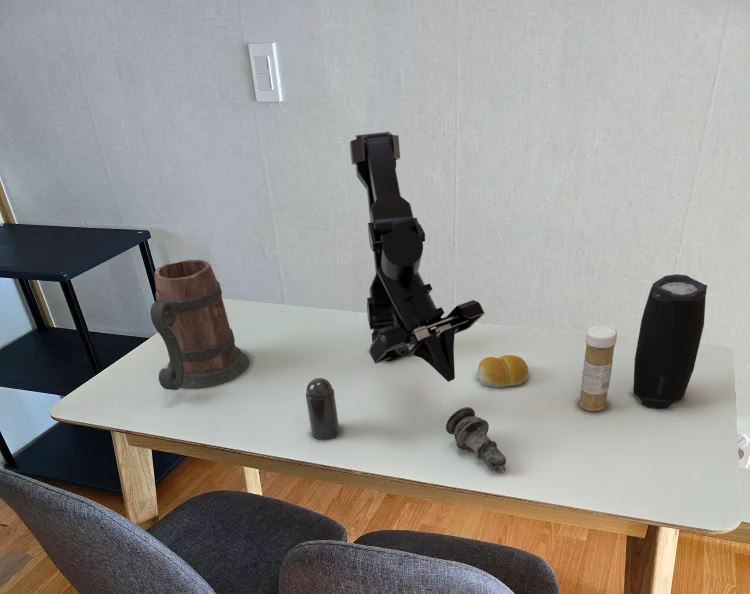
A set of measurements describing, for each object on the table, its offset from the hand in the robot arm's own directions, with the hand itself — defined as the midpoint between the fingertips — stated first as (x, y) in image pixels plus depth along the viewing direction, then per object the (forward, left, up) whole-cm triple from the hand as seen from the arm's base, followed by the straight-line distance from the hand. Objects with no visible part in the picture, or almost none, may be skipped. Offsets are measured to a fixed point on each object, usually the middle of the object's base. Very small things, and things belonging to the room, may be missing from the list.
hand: (451, 380), depth 107 cm
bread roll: (-18, -9, -10) cm, 22 cm away
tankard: (+25, -48, -10) cm, 55 cm away
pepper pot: (+16, -14, -10) cm, 23 cm away
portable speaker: (-33, +13, -10) cm, 37 cm away
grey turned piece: (0, +2, -6) cm, 6 cm away
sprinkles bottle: (-23, +8, -10) cm, 26 cm away
